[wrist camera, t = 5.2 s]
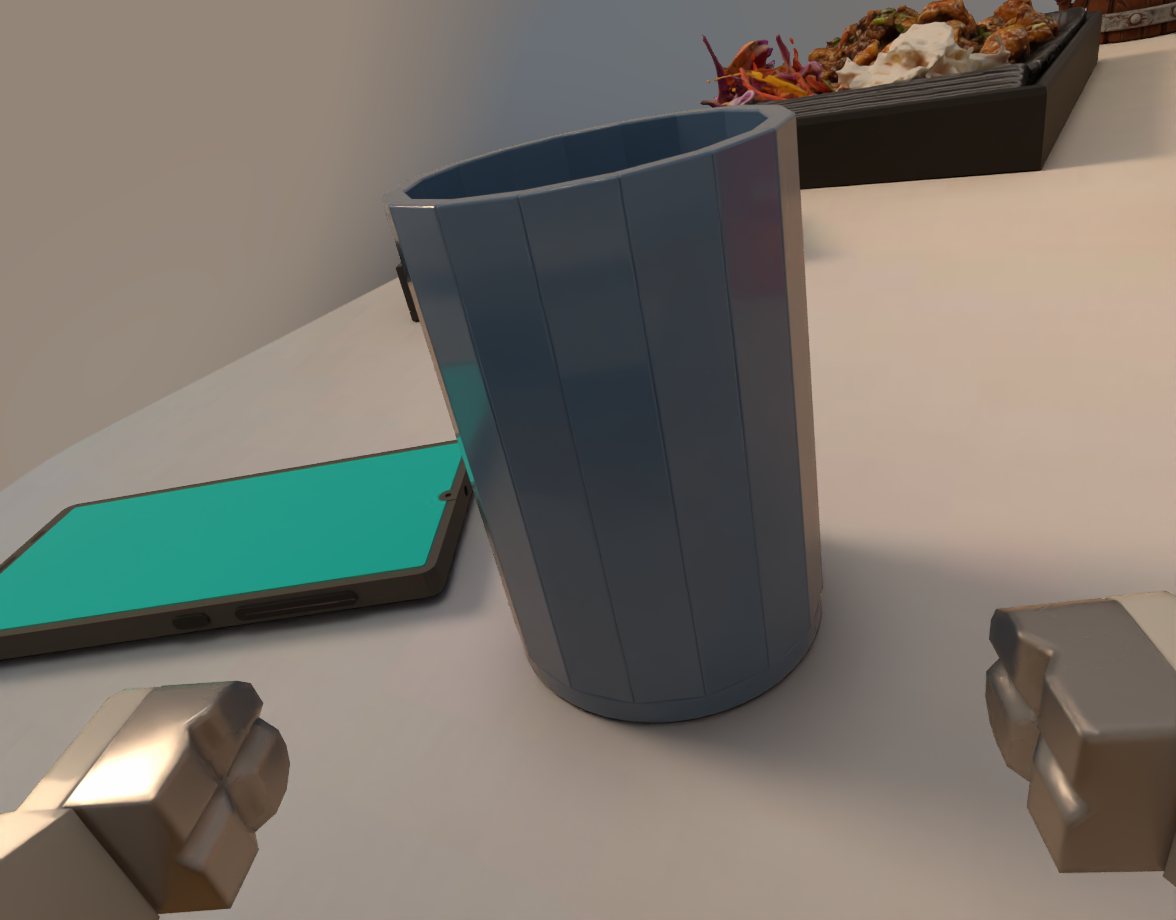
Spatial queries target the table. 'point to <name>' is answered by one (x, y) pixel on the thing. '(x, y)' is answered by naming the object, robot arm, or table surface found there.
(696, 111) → the blue cup
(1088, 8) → the mug
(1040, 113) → the food platter
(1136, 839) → the robot arm
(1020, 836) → the table surface
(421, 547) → the smartphone
